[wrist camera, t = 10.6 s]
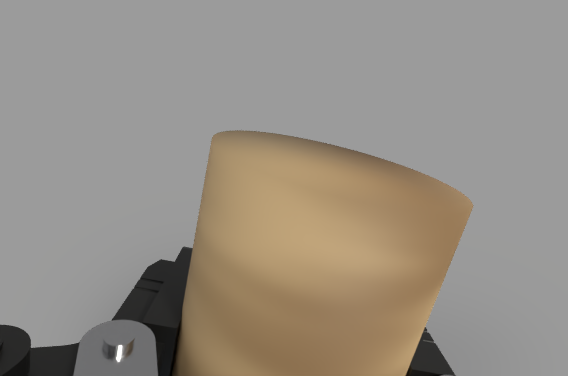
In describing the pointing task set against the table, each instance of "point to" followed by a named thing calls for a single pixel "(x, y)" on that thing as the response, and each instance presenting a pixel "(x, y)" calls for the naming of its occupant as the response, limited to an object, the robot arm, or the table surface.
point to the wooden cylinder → (312, 260)
